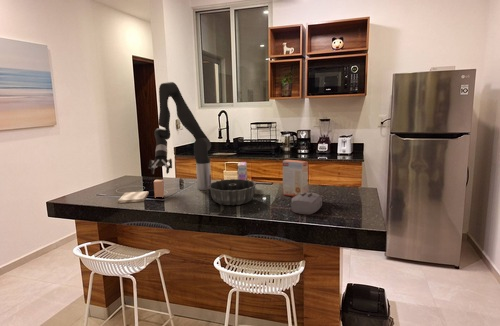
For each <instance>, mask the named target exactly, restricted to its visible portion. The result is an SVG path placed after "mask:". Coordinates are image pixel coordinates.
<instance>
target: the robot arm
mask: <svg viewBox="0 0 500 326" xmlns="http://www.w3.org/2000/svg"><path fill="white" fill-rule="evenodd" d="M158 96H159V97H158V98H159V99H158V101H159V115H158V116H159V117H158V126H159V127H161V128H156V129H155V130H154V138H155V142H156V145H155V155H154V156H155V157H154V160H152V159H149V161H148V169H149V170H151V172H150V173H151V174H152V175H155V169H156V168H158V167H165V168H166V175H168V174H169V173H170V170H171V169H173V160H172V158H169V159H168V141H167V140H169V139H170V138H171V130H170V120H171V112H170V108H169V104H168V103H169V98H171V99H172V101H173V102H174V104H175V107H176V115H177V118H178V120H179V121H180V124H181V125H182V126H183V127H184V128H185V129H186V130H187V131H188V132H189V133H190V134H191V136H192V137H193V138H194V140H195V141H194V143H193V153H194V155H193V156H194V159H195V164H196V165H195V168H196V187H197V190H201V191H202V190H203V191H206V190H210V187H209V185H210V184H211V183H212V174H211V173H212V172H211V171H212V170H211V158H210V157H209V154H208V153H209V152H208V151H210V149H211V148H212V143H211V141H210V139H209V138H208V136H207V135H206V133H205V132H204V131H203V130H202V127H201V126H200V124H199V122H198V121H197V119H196V117H195V116H194V114H193V113H192V111H191V109H190V108H189V106H188V104H187V102H186V100H185V99H184V97H183V94H182V92H181V91H180V89H179V87H178V85H177V84H176V83H175V82H174V81H167V82H162V83H161V84H160V85H159V88H158ZM168 164H169V165H168Z"/></svg>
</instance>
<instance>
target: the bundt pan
mask: <svg viewBox="0 0 500 326" xmlns="http://www.w3.org/2000/svg"><path fill="white" fill-rule="evenodd" d="M256 185H257V183H256V182H255V181H254V180H250V179H247V180H244V179H238V178H236V179H235V178H232V179H221V180H216V181H213V182H211V184H210V185H209V187H210V189H209V190H210V195H211V198H212V200H213V201H214V202H215V203H218V204H219V205H220V206H221V205H222V206H223V205H225V206H235V205H237V206H238V205H239V206H241V205H243V204H247V203H249V202H250V201H252V199H253V197H254V196H255V192H256V191H255V190H256Z"/></svg>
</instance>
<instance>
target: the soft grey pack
mask: <svg viewBox="0 0 500 326" xmlns="http://www.w3.org/2000/svg"><path fill="white" fill-rule="evenodd" d="M322 206H323V197H322V196H321V194H318V193H316V192H308V193H300V194H298V195H296V196H295V197H293V196H292V198H291V199H290V207H291V211H292V212H293V213H294V214H295V213H296V214H301V215H313V214H315V213H316V212H318V211H319V210H320V209H321V208H322Z"/></svg>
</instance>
